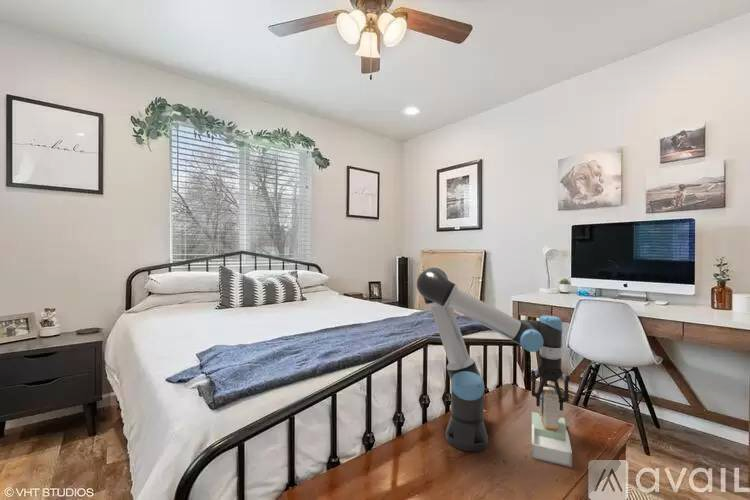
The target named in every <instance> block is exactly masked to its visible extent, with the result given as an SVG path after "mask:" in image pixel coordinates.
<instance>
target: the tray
mask: <svg viewBox="0 0 750 500" xmlns="http://www.w3.org/2000/svg"><path fill="white" fill-rule="evenodd" d="M531 459H534V460H540V461H544V462H548V463H552V464H556V465H561V466H565V467H569V468H572V467H573V451H572V447H571V440H570V436H569V432H568V430H567V431H565V441H562V440H558V439H553V438H548V437H544V436H539V435H535V434H534V424H532V423H531Z"/></svg>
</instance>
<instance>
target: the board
mask: <svg viewBox="0 0 750 500" xmlns="http://www.w3.org/2000/svg"><path fill="white" fill-rule="evenodd" d="M532 424H534V434H535V435H539V436H544V437H548V438H553V439H558V440H562V441H565V431H568V430H567V426H566V419H565V417H560V418H559V420H558V430H554V429H546V428H545V427H544V425H543V423H542V420H541V416H539V412H536V411H535V412H534V411H531V425H532Z"/></svg>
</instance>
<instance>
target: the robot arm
mask: <svg viewBox="0 0 750 500" xmlns="http://www.w3.org/2000/svg"><path fill="white" fill-rule="evenodd" d="M416 289H417V290H418V293H419V294H420V295H421V296H422V297H423V300H424V303H425V305H426V306H429V308H430V310H431V312H432V316H433V318H434V321H435V324H436V327H437V330H438V334H439V337H440V340H441V343H442V346H443V349H444V352H445V355H446V358H447V361H448V364H447V365H446V369H447V373H448V376H449V379H450V381H451V382H450V389H451V390H450V391H451V392H450V395H451V396H450V418H449V420H448V424H447V425H446V429H445V439H446V440H445V441H447V443H448V444H449V445H450V446H452V447H454V448H456V449H458V450H462V451H465V452H479V451H482V450H485V449H486V448H487V447H488V444H489V435H488V433H487V429H486V426H485V422H484V410H485V409H484V403H485V401H484V400H485V397H484V395H485V383H484V379H483V377H482V376H481V373H480V371H479V370H478V367H477V364H476V360H475V359H474V358H472V357H471V356H470V355H469V352H468V349H467V347H466V343H465V340H464V338H463V334H462V331H461V328H460V325H459V322H458V320H457V317H456V313H455V311H457V312H458V313H460V314H462V315H464V316H466V317H467V318H469V319H471V320H473V321H475V322H477V323H479V324H481V325H483V326H485V327H486V328H489V329H490V330H491V331H493V332H495V333H498V334H499V335H502V336H503V337H505V338H507V339H509V340H511V341H512V342H514V343H516V344H518V345H519V346H521V348H523V349H524V350H526V351H527V352H529V353H530V352H531V353H535V352H536V353H537V352H538V351H539V366H538V368H536V369H534V368H531V369H530V374H531V376H532V378H531V396H532V397H535V398H536V401H535V402H536V403H535V405H536V407H539V410H538V411H539V412H538V413H539V416H542V397H541V393H542V390H543V388H544V387H545V385H546V382H551V383H554V386H555V388H556V389H555V391H556V393H557V394H558V420H559V418H560V411H562V412H563V410H564V403H568V402H569V399H570V398H569V395H570V394H569V381H570V380H571V377H570V374H569V373H564V372H563V371H562V341H563V340H562V338H563V324H562V319H561V318H560V317H559V316H555V315H541V316H540V318H539V320H527V319H517V318H515V317H513V316H511V315H509V314H507V313H505V312H503V311H502V310H500V309H498V308H496V307H494V306H492V305H490V304H488V303H486V302H485V301H482V300H481V299H479V298H477V297H475V296H473V295H471V294H469V293H467V292H466V291H463V290H461V289H460V288H458V287H457V283H454V282H452V281H451V280H449V278H448V276H447V274H446V273H445V272H444V271H443V269H441V268H439V267H430V268H427V269H425V270H423V271H422V272H421V273H420V274H419V275H418V277H417V281H416ZM538 374H539V375H540V377H541V380H540V384H539V387H538V389H537V392H536V385H537V384H536V383H537V377H538ZM536 376H537V377H536ZM561 378H562V379H563V385H564V386H563V387H564V388H563V389H564V390H563V391H564V393H563V394H564V396H563V395H562V392H561V391H562V390H561V387H560V385H559V384H560V383H559V379H561Z"/></svg>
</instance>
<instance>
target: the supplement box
mask: <svg viewBox="0 0 750 500" xmlns="http://www.w3.org/2000/svg"><path fill="white" fill-rule="evenodd" d="M540 397H542V416H541V420H542V423H543V425H544V427H545V428H546V429H554V430H558V400H559V397H558V394H557V390H556V389H555V388H554V387H552V386H544V388H543V390H542V393H541V396H540Z"/></svg>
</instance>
